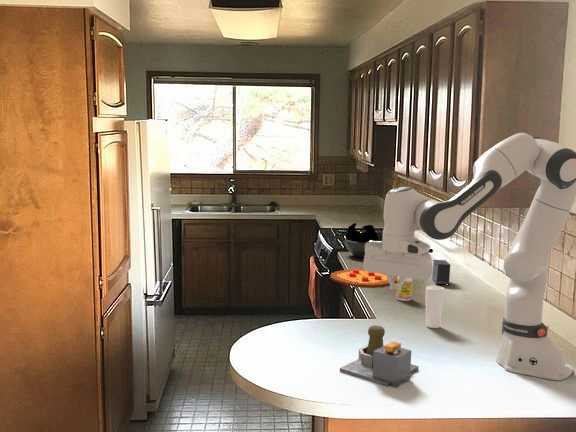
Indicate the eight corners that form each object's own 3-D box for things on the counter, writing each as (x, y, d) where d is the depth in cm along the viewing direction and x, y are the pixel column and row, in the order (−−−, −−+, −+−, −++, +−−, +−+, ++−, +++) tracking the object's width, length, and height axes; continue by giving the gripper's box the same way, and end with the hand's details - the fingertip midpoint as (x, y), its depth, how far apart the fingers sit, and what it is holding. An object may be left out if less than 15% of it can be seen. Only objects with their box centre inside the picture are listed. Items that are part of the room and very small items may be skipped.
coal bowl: (384, 260, 354) (385, 227, 351) (350, 260, 350) (351, 227, 347) (372, 252, 373) (373, 221, 371) (339, 253, 369) (340, 222, 366)
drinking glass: (427, 322, 241) (429, 284, 239) (444, 325, 238) (446, 287, 236) (421, 327, 235) (423, 288, 233) (438, 330, 232) (441, 291, 230)
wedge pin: (399, 374, 186) (401, 343, 185) (391, 378, 182) (393, 347, 181) (391, 371, 188) (392, 341, 187) (382, 375, 184) (384, 345, 183)
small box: (450, 285, 299) (451, 264, 298) (436, 285, 299) (437, 264, 298) (444, 280, 310) (445, 259, 308) (431, 280, 310) (432, 259, 308)
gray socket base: (424, 371, 193) (425, 342, 192) (394, 388, 179) (395, 358, 178) (370, 355, 205) (371, 328, 204) (338, 370, 191) (339, 342, 190)
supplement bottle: (395, 300, 271) (397, 271, 269) (396, 296, 277) (398, 268, 276) (411, 302, 269) (413, 272, 268) (412, 298, 276) (413, 269, 274)
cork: (371, 355, 203) (373, 322, 201) (388, 359, 199) (389, 326, 197) (361, 360, 198) (363, 326, 196) (378, 365, 194) (380, 330, 193)
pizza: (394, 273, 323) (395, 268, 322) (398, 289, 291) (398, 283, 291) (332, 270, 327) (332, 265, 326) (329, 285, 295) (329, 279, 295)
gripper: (360, 241, 183) (358, 287, 185) (427, 249, 172) (424, 298, 174) (369, 238, 188) (368, 283, 190) (435, 246, 177) (433, 293, 179)
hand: (395, 290), depth 182 cm, fingers closed
